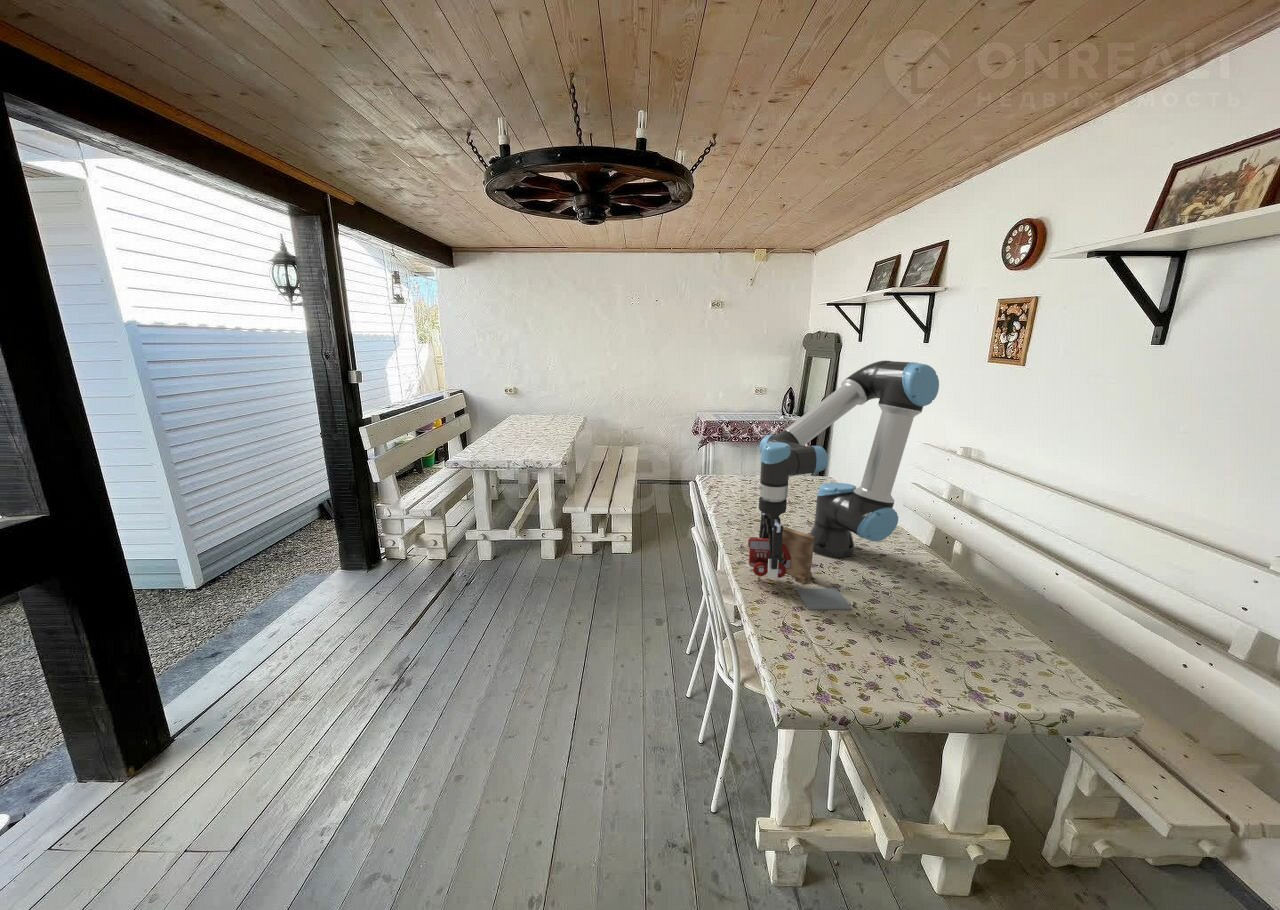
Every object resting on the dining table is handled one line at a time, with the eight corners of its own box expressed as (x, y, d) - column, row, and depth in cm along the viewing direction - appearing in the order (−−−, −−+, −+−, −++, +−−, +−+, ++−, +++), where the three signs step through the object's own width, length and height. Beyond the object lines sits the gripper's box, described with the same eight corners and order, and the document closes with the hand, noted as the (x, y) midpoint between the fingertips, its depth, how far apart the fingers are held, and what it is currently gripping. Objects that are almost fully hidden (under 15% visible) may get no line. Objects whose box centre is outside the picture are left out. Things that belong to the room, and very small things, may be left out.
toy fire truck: (792, 578, 133) (794, 545, 130) (747, 576, 134) (749, 543, 131) (788, 566, 139) (790, 534, 136) (746, 564, 141) (747, 532, 138)
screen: (756, 565, 149) (759, 524, 145) (765, 558, 153) (769, 519, 149) (803, 583, 138) (808, 540, 134) (812, 576, 142) (817, 534, 138)
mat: (836, 589, 135) (836, 588, 135) (852, 609, 125) (852, 608, 125) (795, 589, 135) (795, 588, 135) (807, 609, 125) (807, 608, 125)
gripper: (750, 485, 140) (747, 554, 146) (769, 511, 121) (764, 589, 127) (775, 485, 140) (771, 553, 146) (798, 511, 121) (792, 588, 127)
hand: (768, 570), depth 137 cm, fingers closed on toy fire truck, 7 cm apart
